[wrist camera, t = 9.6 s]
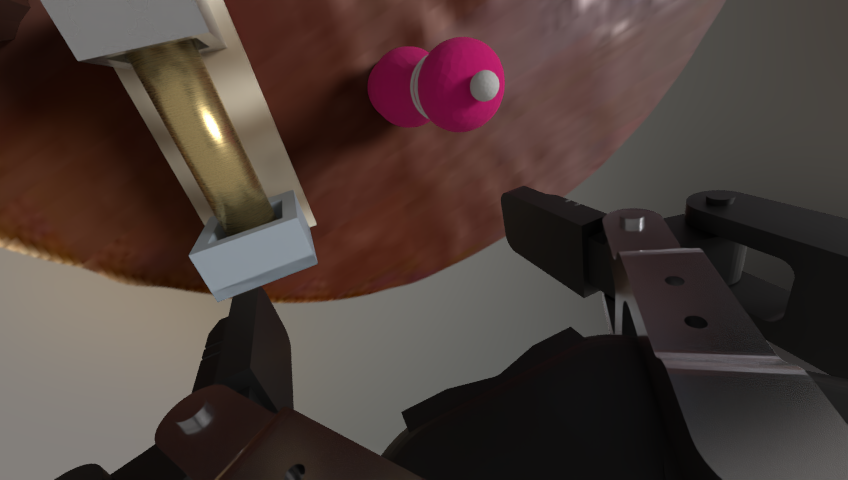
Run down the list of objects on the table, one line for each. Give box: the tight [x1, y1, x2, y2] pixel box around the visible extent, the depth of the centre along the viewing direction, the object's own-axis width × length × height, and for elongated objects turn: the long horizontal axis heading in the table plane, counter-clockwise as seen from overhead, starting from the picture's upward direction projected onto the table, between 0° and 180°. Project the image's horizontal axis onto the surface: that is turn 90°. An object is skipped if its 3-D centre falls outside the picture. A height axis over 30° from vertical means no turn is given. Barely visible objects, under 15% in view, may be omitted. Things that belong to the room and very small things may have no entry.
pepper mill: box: [367, 37, 505, 132], centre depth 30 cm, size 7×7×20 cm
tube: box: [126, 39, 279, 237], centre depth 28 cm, size 18×5×5 cm, turn 14°
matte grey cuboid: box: [41, 0, 227, 70], centre depth 25 cm, size 5×8×9 cm, turn 104°
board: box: [113, 0, 317, 227], centre depth 33 cm, size 24×10×1 cm, turn 14°
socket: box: [189, 190, 318, 302], centre depth 33 cm, size 4×8×10 cm, turn 104°
